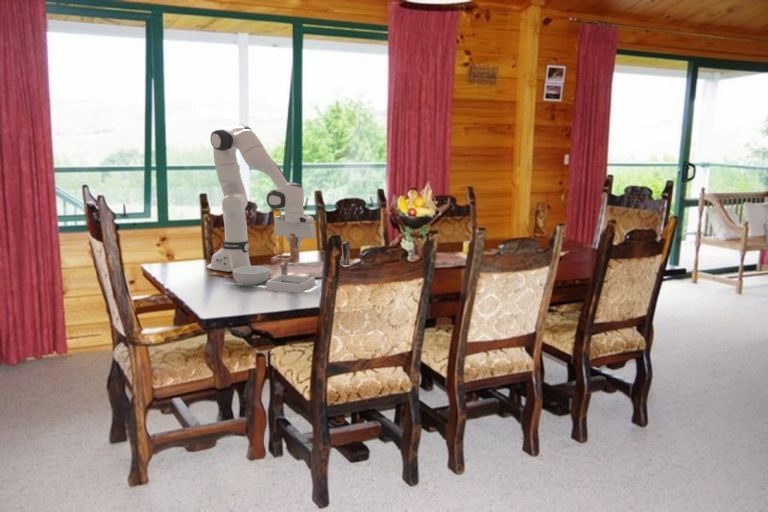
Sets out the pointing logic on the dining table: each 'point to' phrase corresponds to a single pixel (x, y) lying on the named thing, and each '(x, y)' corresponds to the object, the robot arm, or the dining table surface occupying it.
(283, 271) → the stake board
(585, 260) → the dining table surface
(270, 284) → the grey tray
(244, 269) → the cereal bowl
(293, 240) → the tabbed ring
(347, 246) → the coffee box
